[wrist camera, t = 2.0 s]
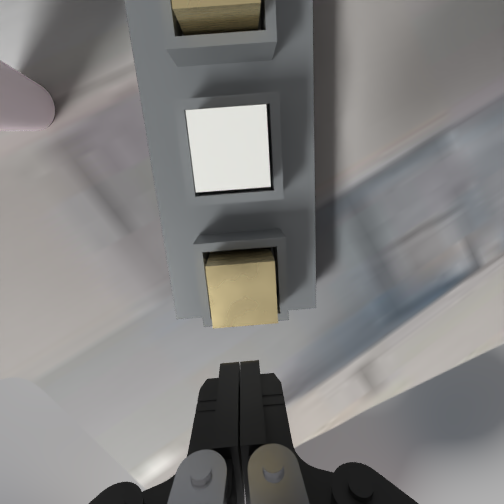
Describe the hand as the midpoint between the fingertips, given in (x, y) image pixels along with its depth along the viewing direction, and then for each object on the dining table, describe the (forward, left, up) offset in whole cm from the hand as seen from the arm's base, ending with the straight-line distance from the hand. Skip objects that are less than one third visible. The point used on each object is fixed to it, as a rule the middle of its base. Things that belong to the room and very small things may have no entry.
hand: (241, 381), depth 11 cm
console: (0, -9, -17) cm, 19 cm away
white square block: (0, -9, -11) cm, 14 cm away
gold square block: (0, 0, -11) cm, 11 cm away
